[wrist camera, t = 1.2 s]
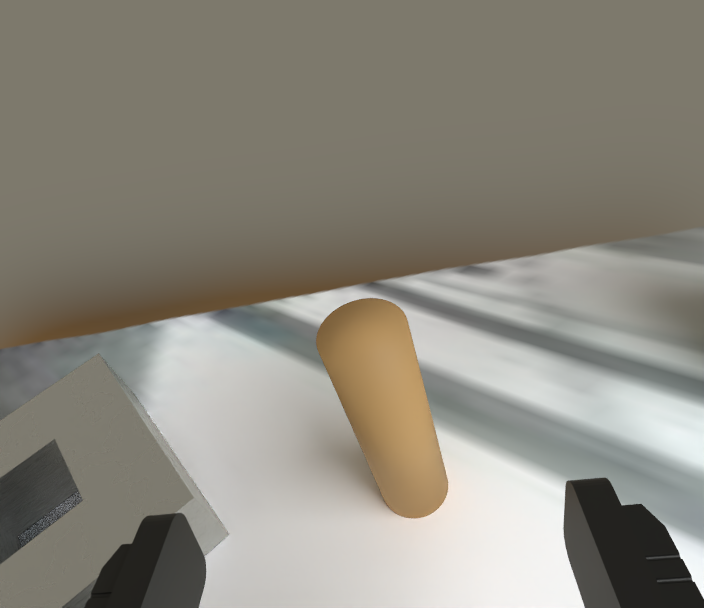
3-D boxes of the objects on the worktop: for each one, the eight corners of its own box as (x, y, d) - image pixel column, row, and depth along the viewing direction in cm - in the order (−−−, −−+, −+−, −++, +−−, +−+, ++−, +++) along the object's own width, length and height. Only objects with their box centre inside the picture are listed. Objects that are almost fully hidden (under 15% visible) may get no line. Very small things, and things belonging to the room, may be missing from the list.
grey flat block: (133, 392, 44) (98, 353, 41) (229, 534, 34) (193, 497, 30) (-66, 537, 39) (-125, 505, 35) (-25, 757, 28) (-103, 743, 25)
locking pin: (414, 443, 35) (366, 285, 25) (462, 483, 32) (428, 325, 23) (368, 486, 34) (298, 338, 24) (414, 532, 31) (356, 387, 21)
